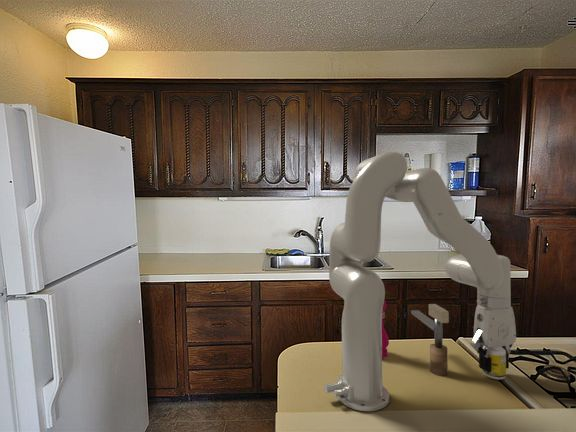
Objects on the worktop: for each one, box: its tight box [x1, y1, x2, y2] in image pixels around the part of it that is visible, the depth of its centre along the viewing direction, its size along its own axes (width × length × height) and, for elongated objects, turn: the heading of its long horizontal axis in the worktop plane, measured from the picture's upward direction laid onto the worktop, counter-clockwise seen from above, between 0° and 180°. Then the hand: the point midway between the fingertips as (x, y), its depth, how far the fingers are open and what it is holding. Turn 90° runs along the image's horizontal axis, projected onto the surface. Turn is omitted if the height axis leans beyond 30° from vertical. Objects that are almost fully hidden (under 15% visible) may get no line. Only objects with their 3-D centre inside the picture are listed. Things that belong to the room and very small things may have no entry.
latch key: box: [410, 303, 450, 347], centre depth 95 cm, size 18×2×11 cm, turn 3°
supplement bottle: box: [481, 346, 507, 380], centre depth 86 cm, size 5×5×10 cm
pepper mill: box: [382, 299, 390, 360], centre depth 100 cm, size 7×7×20 cm
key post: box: [429, 343, 449, 377], centre depth 89 cm, size 4×4×7 cm
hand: (493, 367), depth 86 cm, fingers closed on supplement bottle, 5 cm apart
